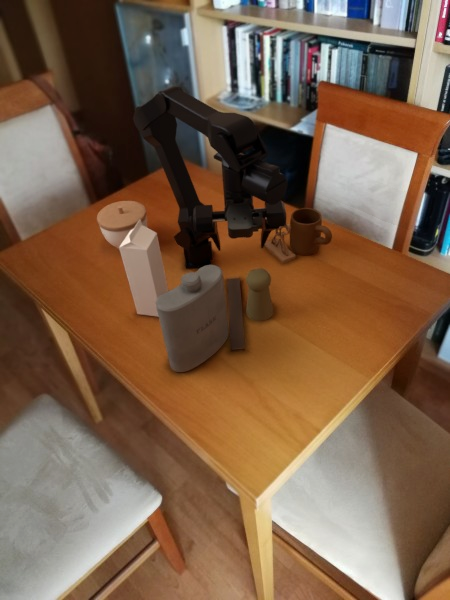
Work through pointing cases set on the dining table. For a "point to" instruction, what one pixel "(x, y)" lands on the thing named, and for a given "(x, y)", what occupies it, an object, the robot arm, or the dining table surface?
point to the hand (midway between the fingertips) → (240, 248)
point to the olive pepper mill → (259, 295)
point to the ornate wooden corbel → (280, 245)
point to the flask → (194, 318)
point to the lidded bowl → (120, 220)
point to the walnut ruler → (235, 315)
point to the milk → (144, 268)
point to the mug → (307, 231)
